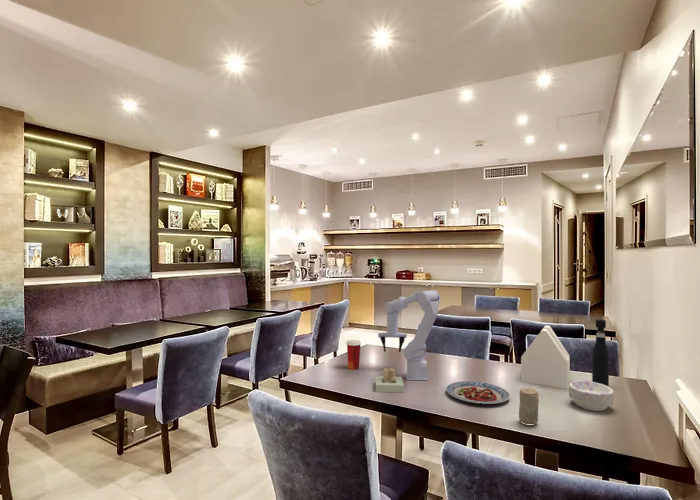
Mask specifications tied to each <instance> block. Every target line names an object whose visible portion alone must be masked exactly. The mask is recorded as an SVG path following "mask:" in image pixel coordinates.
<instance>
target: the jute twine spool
mask: <svg viewBox="0 0 700 500" xmlns="http://www.w3.org/2000/svg"><path fill="white" fill-rule="evenodd" d="M539 401H540V399H539V392H538V391H537V390H536V389H535V388H528V387H522V388H520V389H519V404H518V405H519V409H518V410H519V411H518V420H519V422H520V421H521V422H523V423H525V424H535V425H537V424H538V422H539V403H540V402H539ZM521 422H520V423H521Z"/></svg>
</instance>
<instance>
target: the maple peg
mask: <svg viewBox="0 0 700 500" xmlns="http://www.w3.org/2000/svg"><path fill="white" fill-rule="evenodd" d="M382 376H383V383H395V377H396V370H395V369H394V368H392V367H388V368H386V367H385V368H383V375H382Z"/></svg>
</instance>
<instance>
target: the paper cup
mask: <svg viewBox="0 0 700 500" xmlns="http://www.w3.org/2000/svg"><path fill="white" fill-rule="evenodd" d="M345 344H346V348H347V368H348V369H349V370H353V371H354V370H359V369H360V357H361V345H362V343H361V340H360V339H359V340H357V339H349V340H348V339H347V341H346V343H345Z"/></svg>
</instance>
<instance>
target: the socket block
mask: <svg viewBox="0 0 700 500" xmlns="http://www.w3.org/2000/svg"><path fill="white" fill-rule="evenodd" d="M374 379H375V381H374V382H375V392H376V393H404V390H405V389H404V388H405V386H404V380H403V377H402V376H395V383H383V375H375V378H374Z"/></svg>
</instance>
